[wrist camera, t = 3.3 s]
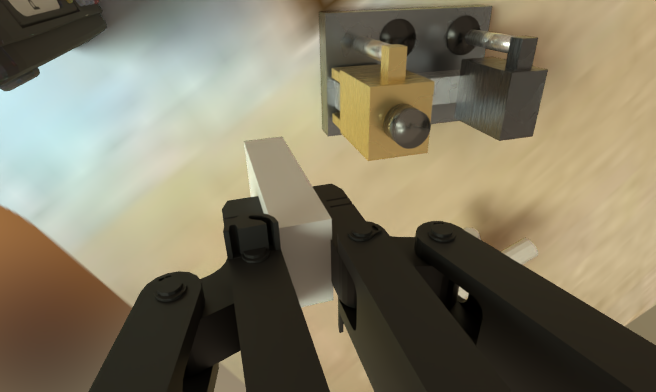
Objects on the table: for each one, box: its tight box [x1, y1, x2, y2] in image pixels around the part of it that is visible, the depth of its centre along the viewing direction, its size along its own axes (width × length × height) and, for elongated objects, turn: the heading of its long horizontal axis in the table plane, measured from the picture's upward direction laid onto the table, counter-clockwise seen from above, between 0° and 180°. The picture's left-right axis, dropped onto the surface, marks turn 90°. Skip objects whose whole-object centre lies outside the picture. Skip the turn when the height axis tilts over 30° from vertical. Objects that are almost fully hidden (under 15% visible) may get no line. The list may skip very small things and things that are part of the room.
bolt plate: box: [319, 5, 548, 141], centre depth 26 cm, size 12×8×8 cm, turn 92°
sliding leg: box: [332, 36, 435, 161], centre depth 23 cm, size 4×6×8 cm, turn 2°
